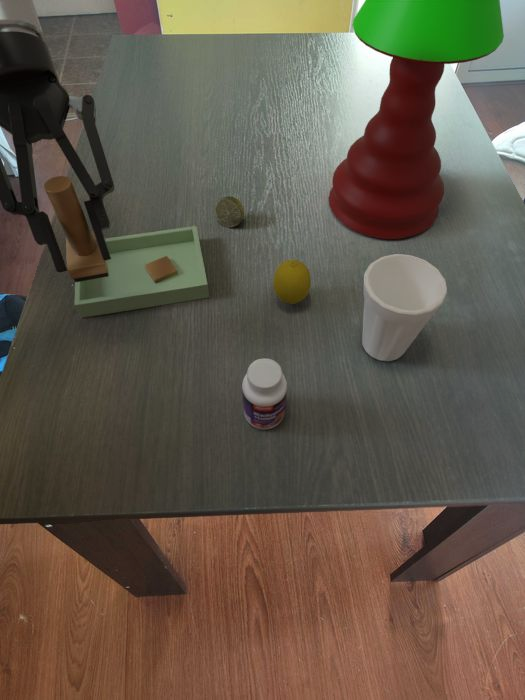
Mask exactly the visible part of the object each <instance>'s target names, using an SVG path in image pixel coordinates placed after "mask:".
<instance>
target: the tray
mask: <svg viewBox="0 0 525 700" xmlns="http://www.w3.org/2000/svg"><path fill="white" fill-rule="evenodd" d="M105 241H106V245H107V248H108V251H109V254H110V257H111V259H109V260H107V261H108V275H109V276H108V277H102V278H97V279H91V280H86V281H81V282H75V281H74V307H75V309H76V311H77V313H78V315H79V317H80V319H84V318H90V317H96V316H103V315H108V314H116V313H121V312H127V311H133V310H139V309H146V308H147V309H148V308H153V307H159V306H165V305H171V304H177V303H185V302H190V301H191V302H192V301H196V300H197V301H198V300H203V299H209V298H210V289H209V284H208V278H207V274H206V268H205V264H204V258H203V252H202V248H201V243H200V238H199V232H198V227H197V225H192V226H184V227H177V228H170V229H163V230H157V231H149V232H142V233H141V232H140V233H135V234H128V235H120V236H115V237H114V236H113V237H105ZM165 256H167V257H168V258H169V260H170V261H171V262H172V264H173V265H174V267H175V268H176V269H177V271H178V274H176V275H174V276H172V277H169V278H167V279H165V280H162V281H160V282H158V283H155V282H154V281H153V279H152V278H151V276H150V275H149V273H148V272H147V270H146V269H145V266H144V265H145V264H148V263H150V262H153V261H155V260H158V259H160V258H163V257H165Z"/></svg>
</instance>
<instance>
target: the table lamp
mask: <svg viewBox="0 0 525 700" xmlns="http://www.w3.org/2000/svg"><path fill="white" fill-rule="evenodd" d="M352 27H353V32H354V34H355V36H356V38H357V39H358V40H359V41H360V42H361V43H362V44H364V45H365V46H366V47H368V48H369V49H372V50H373V51H375V52H377V53H380V54H382V55H385V56H388V57H390V58H391V61H390V62H389V63H390V64H389V82H388V85H387V87H386V88H385V90H384V92H383V94H382V96H381V98H380V103H379V104H380V105H379V109H378V111H377V113H376V114H374V116H373V117H372V118H370V120H369V121H368V122H367V123H366V126H365V128H364V133H363V135H361V136H360V137H359V138H357V139H356V140H355V141H354V142H353V143H352V144H351V145H350V147H349V149H348V150H347V154H346V158H345V159H343V160H342V161H341V162H340V163H339V164H338V166H337V167H336V168H335V170H334V172H333V175H332V181H331V184H332V187H331V189H330V190H329V194H328V205H329V207H330V210H331V212H332V213H333V214H334V216H335V217H336V219H337V220H339V222H340V223H342V224H343V225H344V226H345V227H347V228H348V229H350V230H352V231H354V232H356V233H359V234H362V235H365V236H368V237H371V238H376V239H381V240H382V239H383V240H399V239H403V238H409V237H412V236H416V235H419V234H422V233H423V232H425V231H427V230H428V229H429V228H430V227H431V226H433V224H434V223H435V221H436V220H437V218H438V217H439V212H440V205H441V203H442V202H443V199H444V196H445V184H444V181H443V178H442V176H441V174H440V173H441V170H442V159H441V157H440V154H439V152H438V150H437V149H436V147H435V144H436V141H437V131H436V128H435V125H434V123H433V120H432V118H433V114H434V111H435V109H436V89H437V86H438V84H439V82H440V81H441V79H442V78H443V74H444V71H445V65H453V64H461V63H468V62H472V61H476V60H480V59H482V58H485V57H488V56H489V55H491V54H493V53H494V52H496V50H497V49H498V48H499V47H500V46H501V44H502V43H503V41H504V37H505V35H504V25H503V18H502V9H501V1H500V0H364V2H363V3H362V5H361V7H360V8H359V10H358V12H357V13H356V15H355V16H354V17H353V21H352Z"/></svg>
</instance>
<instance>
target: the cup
mask: <svg viewBox="0 0 525 700" xmlns="http://www.w3.org/2000/svg"><path fill="white" fill-rule="evenodd" d="M362 292H363V297H364V298H363V299H364V300H363V317H362V336H361V345H362V348H363V349H364V351H365V352H366V354H368V355H369V356H370V357H371V358H373V359H376V360H378V361H380V362H381V361H382V362H391V361H395V360H398V359H399V358H401V357H402V356H403V355H404V354H405V353H406V352H407V350H408V349H409V348H410V346H411V345H412V344H413V342H414V341H415V339H416V338H417V337H418V335H419V334H420V333H421V332H422V330H423V328H425V326H426V325H427V323H428V322H429V321H430V320H431V318H432V317H433V315H435V314H436V313H437V312H438V311H439V309H440V307H441V306H442V304H443V303H444V301H445V298H446V296H447V294H448V289H447V280H446V279H445V277H444V276H443V275H442V272H441V271H440V270H439V269H438V267H435V266H434V265H433V264H432V263H431V262H429V261H427V260H425V259H423V258H420V257H418V256H414V255H412V254H401V253H395V254H389V255H384V256H381V257H379V258H377V259H376V260H374V261H373V262H371V263H370V264H369V265H368V267H367V268H366V270H365V272H364V274H363V291H362Z"/></svg>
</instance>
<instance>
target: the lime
mask: <svg viewBox="0 0 525 700" xmlns="http://www.w3.org/2000/svg"><path fill="white" fill-rule="evenodd" d="M244 208H245V207H244V206H243V203H242V202H241V201H240V200H239V199H238V198H236V197H234V196H224V197H222V198H220V200H219V201H218V202H217V204H216V206H215V215H216V219H218V222H220V224H221V225H222V226H223V227H227V228H234V227H236V226H239V225H240V224H241V223H242V220H243V219H244V216H245V209H244Z"/></svg>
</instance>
